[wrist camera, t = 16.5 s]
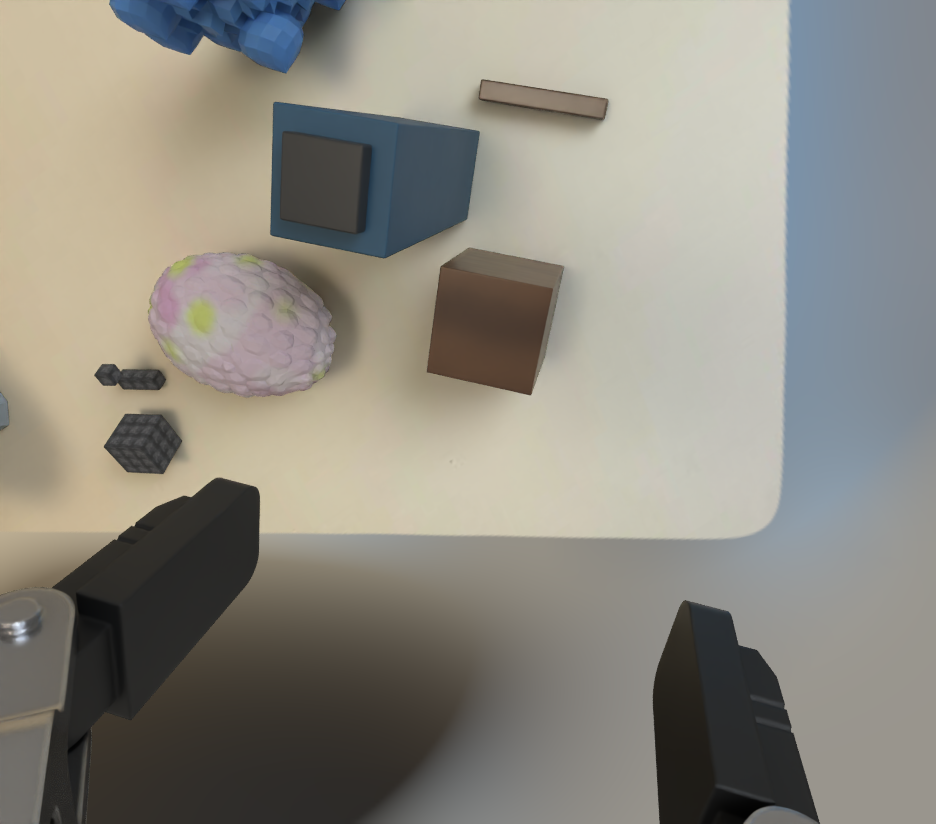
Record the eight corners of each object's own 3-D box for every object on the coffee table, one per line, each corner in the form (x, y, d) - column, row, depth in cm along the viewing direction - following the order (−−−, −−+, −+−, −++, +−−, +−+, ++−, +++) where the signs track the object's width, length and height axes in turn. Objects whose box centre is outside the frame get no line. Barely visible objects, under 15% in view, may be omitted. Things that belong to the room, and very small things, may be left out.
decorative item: (347, 412, 40) (182, 400, 34) (273, 395, 49) (128, 383, 42) (364, 268, 40) (199, 227, 33) (286, 276, 48) (142, 245, 42)
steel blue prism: (417, 373, 35) (367, 198, 22) (332, 353, 36) (235, 173, 23) (481, 174, 40) (472, -64, 27) (405, 161, 41) (361, -78, 28)
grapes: (253, 123, 40) (115, 115, 29) (202, 5, 38) (33, -51, 27) (420, 40, 36) (333, -5, 25) (373, -95, 34) (257, -207, 23)
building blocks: (127, 472, 49) (61, 402, 43) (160, 417, 52) (104, 346, 46) (163, 473, 48) (101, 403, 42) (194, 418, 52) (141, 346, 46)
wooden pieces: (552, 360, 41) (539, 397, 35) (447, 337, 42) (417, 370, 36) (608, 100, 35) (606, 90, 29) (484, 80, 36) (456, 66, 30)
